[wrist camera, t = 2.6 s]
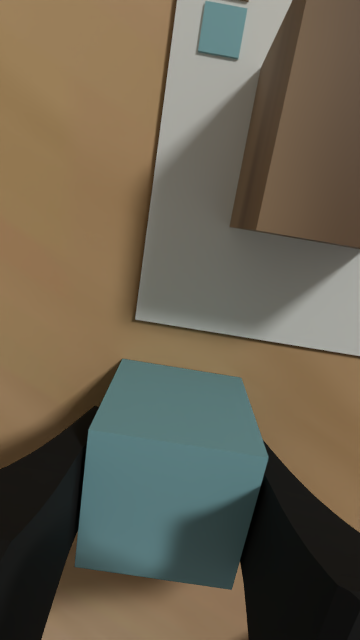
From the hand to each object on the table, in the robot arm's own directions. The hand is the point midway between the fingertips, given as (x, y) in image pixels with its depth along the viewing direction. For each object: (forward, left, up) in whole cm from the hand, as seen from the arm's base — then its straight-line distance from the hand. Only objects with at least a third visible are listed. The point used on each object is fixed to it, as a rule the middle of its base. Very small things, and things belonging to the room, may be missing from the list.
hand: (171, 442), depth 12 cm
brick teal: (0, 0, -1) cm, 1 cm away
